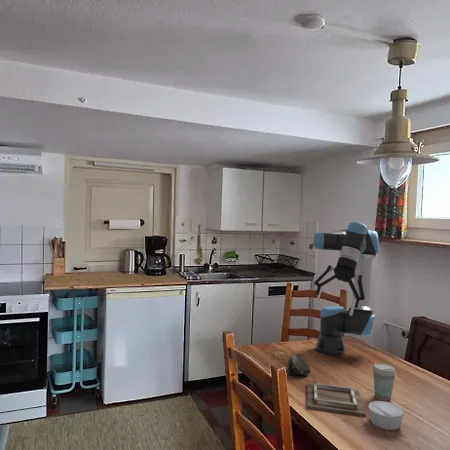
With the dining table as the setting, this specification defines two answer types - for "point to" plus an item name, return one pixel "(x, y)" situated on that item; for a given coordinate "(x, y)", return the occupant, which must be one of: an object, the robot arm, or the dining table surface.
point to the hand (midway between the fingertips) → (333, 309)
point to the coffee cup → (383, 381)
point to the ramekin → (385, 415)
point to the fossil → (298, 365)
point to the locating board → (334, 399)
